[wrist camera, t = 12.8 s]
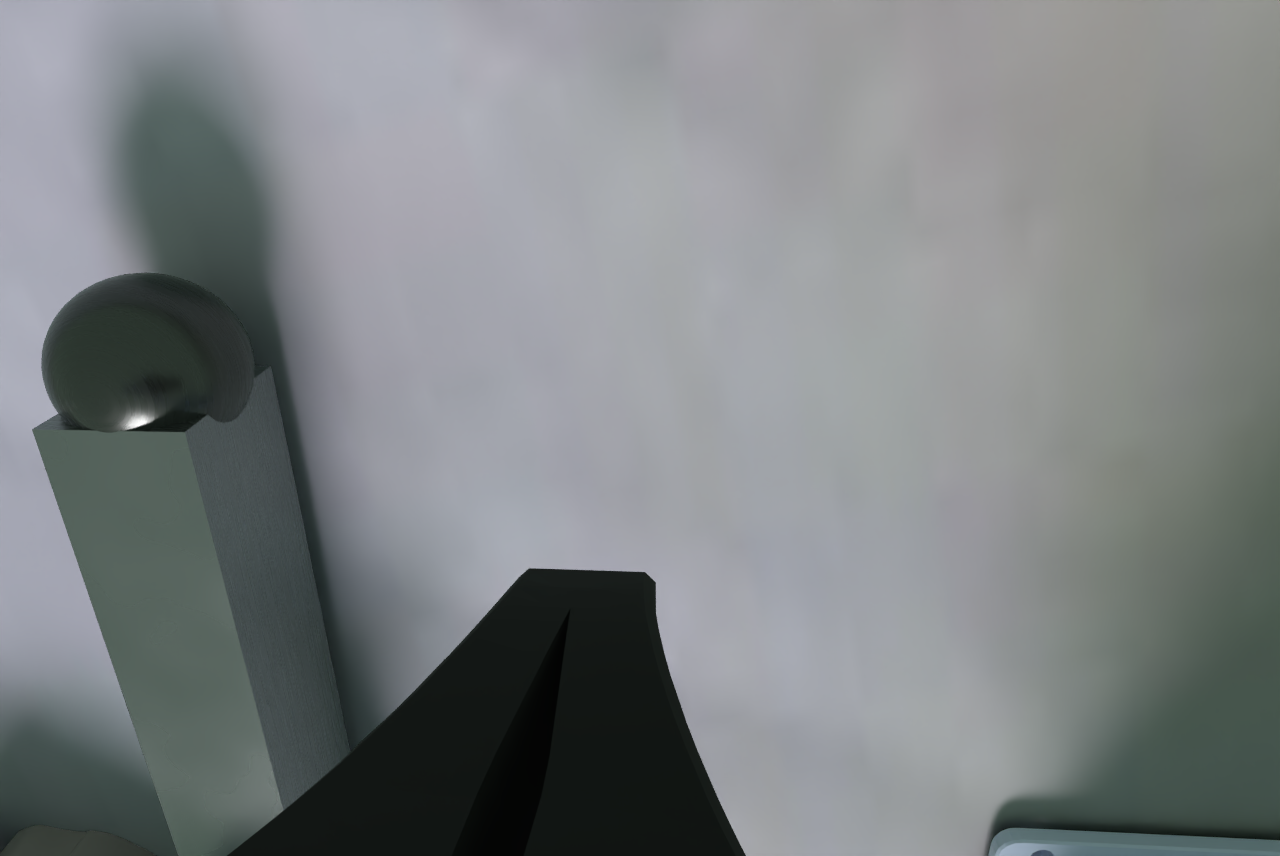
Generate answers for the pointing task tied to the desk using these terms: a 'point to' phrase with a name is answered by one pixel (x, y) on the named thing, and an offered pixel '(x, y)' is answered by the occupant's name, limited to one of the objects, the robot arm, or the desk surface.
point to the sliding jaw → (192, 551)
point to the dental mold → (69, 843)
